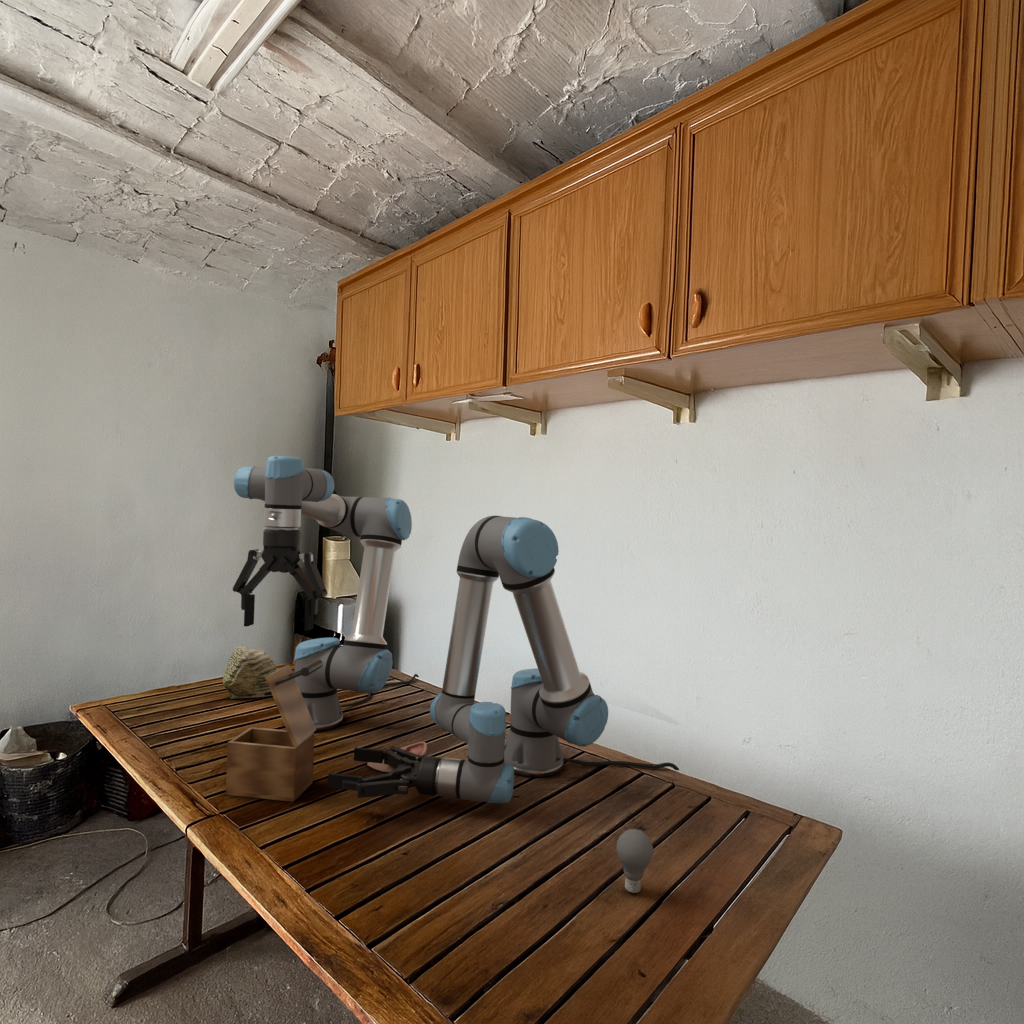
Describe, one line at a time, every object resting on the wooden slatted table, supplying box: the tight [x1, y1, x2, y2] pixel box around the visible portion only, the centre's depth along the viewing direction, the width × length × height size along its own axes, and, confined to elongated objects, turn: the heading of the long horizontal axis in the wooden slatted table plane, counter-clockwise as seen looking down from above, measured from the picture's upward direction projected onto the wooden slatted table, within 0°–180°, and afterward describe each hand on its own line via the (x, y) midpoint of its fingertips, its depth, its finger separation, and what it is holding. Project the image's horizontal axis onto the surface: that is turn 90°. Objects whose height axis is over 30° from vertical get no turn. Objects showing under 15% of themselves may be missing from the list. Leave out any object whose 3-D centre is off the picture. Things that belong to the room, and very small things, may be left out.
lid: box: [265, 659, 323, 747], centre depth 135 cm, size 16×9×9 cm
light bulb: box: [615, 828, 654, 894], centre depth 106 cm, size 6×6×10 cm
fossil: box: [222, 646, 280, 699], centre depth 198 cm, size 9×18×15 cm, turn 132°
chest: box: [225, 726, 316, 803], centre depth 136 cm, size 15×9×11 cm, turn 83°
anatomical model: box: [366, 741, 428, 773], centre depth 152 cm, size 13×4×12 cm
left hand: (278, 627), depth 136 cm, fingers open, 13 cm apart
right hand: (342, 766), depth 135 cm, fingers open, 13 cm apart
